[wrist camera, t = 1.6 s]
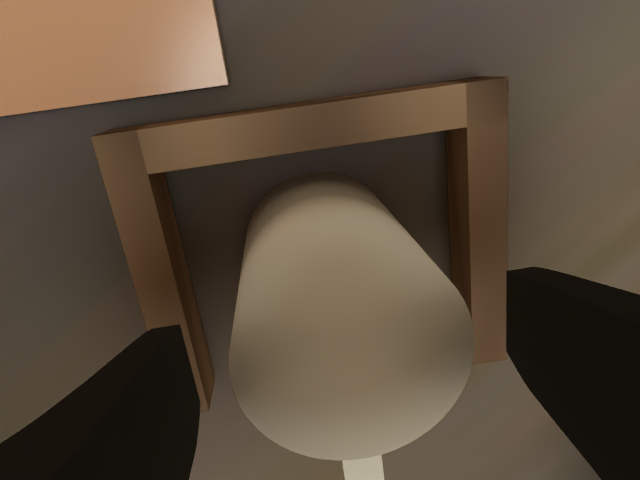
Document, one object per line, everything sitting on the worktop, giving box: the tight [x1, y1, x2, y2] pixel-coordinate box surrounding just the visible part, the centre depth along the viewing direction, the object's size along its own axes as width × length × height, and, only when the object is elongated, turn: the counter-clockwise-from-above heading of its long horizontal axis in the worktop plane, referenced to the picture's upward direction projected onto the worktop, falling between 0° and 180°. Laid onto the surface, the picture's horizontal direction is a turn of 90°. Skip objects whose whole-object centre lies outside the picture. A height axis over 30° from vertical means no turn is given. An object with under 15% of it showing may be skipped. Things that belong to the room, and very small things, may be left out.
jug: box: [229, 172, 475, 480], centre depth 13 cm, size 8×5×7 cm, turn 8°
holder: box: [91, 77, 508, 412], centre depth 15 cm, size 11×9×2 cm
